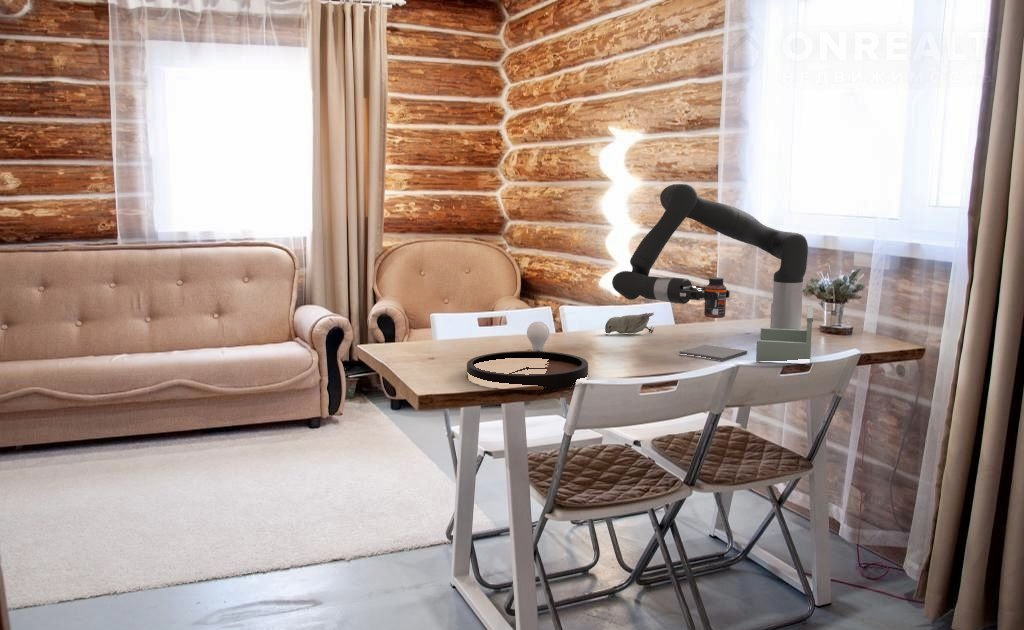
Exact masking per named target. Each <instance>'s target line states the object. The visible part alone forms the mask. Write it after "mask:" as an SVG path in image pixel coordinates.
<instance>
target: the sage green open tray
mask: <svg viewBox="0 0 1024 630" xmlns="http://www.w3.org/2000/svg"><path fill="white" fill-rule="evenodd" d="M813 308H814V307H813V306H806V329H801V330H795V329H773V328H770V327H761V328H760V339H758V340H756V350H755V351H756V353H755V354H756V355H755V357H756V358H755V361H787V360H798V359H810V360H811V355H812V354H811V353H812V351H811V350H812V332H813V331H812V330H813V322H814V309H813ZM805 366H811V363H810V364H806V365H805Z"/></svg>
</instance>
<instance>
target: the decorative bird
mask: <svg viewBox="0 0 1024 630" xmlns="http://www.w3.org/2000/svg"><path fill="white" fill-rule="evenodd" d="M654 314H655V313H654V312H645V313H641V314H629V315H623V316H613V317H610V318H608V320H607V321H606V323H605V326H604V330H605V331H604V332H606V333H609V334H610V333H613V332H616V333H618V334H620V333H633V334H637V333H640V332H643V331H644V330H645V329H647V330H648V333H651V334H653V332H654V328H652V327H653V326H651V327H650V328H649V327H648V326H647V325H648V323H649V320H650V317H653V316H654Z"/></svg>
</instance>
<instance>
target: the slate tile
mask: <svg viewBox="0 0 1024 630" xmlns="http://www.w3.org/2000/svg"><path fill="white" fill-rule="evenodd" d="M680 354H687V355H694V356H701V357H706V358H711V359H716V360H715V361H717V360H720V361H719V362H725V361H729V360H731V359H735V358H738V357H739V358H740V357H742V356H745V355H748V350H746V349H740V348H739V349H738V348H731V347H724V346H717V345H710V344H703V345H699V346H695V347H691V348H688V349H685V350H680V351H679V355H680Z"/></svg>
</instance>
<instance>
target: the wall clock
mask: <svg viewBox="0 0 1024 630" xmlns="http://www.w3.org/2000/svg"><path fill="white" fill-rule="evenodd" d="M505 358H542V359H549V360H548V361H547V362H549V363H547V364H549V365H547V364H545V365H547V366H548V367H545V368H529V367H526V368H523V369H520V370H517V371H515V372H518V371H522V370H525V369H527V370H528V369H547V371H546V373H545V374H529V375H525V374H512V373H515V372H512V373H509V374H504V373H496V372H490V371H485V370H481V369H479V368H476V367H475V366H474V364H476V363H479V362H484V361H489V360H496V359H505ZM467 372H468V373H469V374H470V375H472V376H474V377H477V378H480V379H483V380H487V381H492V382H499V383H509V384H522V385H538V386H543V387H544V389H543V390H542V391H553V390H560V389H567V388H571V387H575V386H574V385H575V382H576V380H577V379H580V378H585V377H587V375H588V376H589V362H588V361H587V360H586V359H585V358H583V357H580V356H578V355H575V354H570V353H564V352H556V351H545V350H543V351H533V350H516V351H515V350H514V351H513V350H512V351H502V352H501V351H500V352H499V351H498V352H495V353H494V352H493V353H488V354H486V353H485V354H482V355H479V356H475V357H473V358H471V359H469V360H468V361H467V362H466V373H467ZM573 383H574V384H573ZM572 385H573V386H572ZM545 387H546V388H545Z"/></svg>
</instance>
